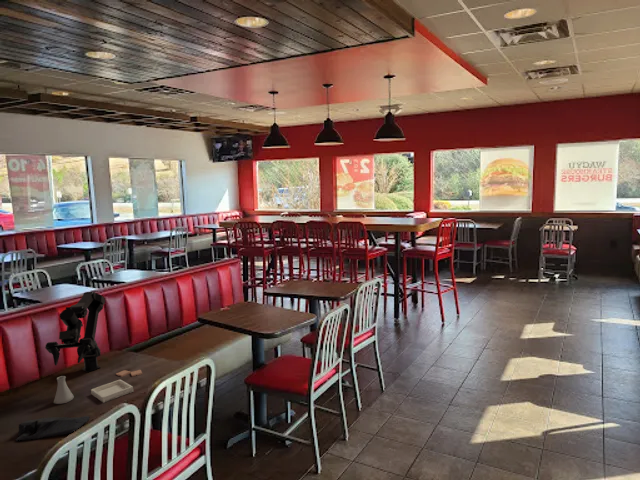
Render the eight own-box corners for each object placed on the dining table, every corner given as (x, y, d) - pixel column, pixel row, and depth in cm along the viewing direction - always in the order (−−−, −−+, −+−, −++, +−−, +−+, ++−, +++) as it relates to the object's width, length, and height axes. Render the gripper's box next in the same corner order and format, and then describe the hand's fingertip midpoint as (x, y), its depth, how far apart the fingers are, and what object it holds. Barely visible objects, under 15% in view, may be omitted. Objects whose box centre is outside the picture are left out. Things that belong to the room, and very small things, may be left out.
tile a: (116, 376, 220) (115, 373, 220) (124, 372, 224) (124, 370, 224) (121, 377, 218) (121, 375, 218) (130, 374, 221) (130, 371, 221)
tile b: (130, 374, 221) (130, 372, 221) (140, 372, 223) (140, 369, 223) (132, 377, 217) (131, 375, 217) (142, 375, 219) (142, 372, 219)
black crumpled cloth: (74, 439, 165) (72, 426, 165) (10, 443, 165) (8, 430, 164) (93, 417, 181) (92, 405, 180) (35, 421, 180) (33, 409, 179)
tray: (91, 394, 200) (90, 389, 200) (120, 384, 209) (120, 379, 209) (103, 402, 192) (102, 397, 191) (133, 391, 201) (133, 386, 200)
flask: (77, 396, 199) (74, 373, 198) (66, 404, 192) (63, 381, 191) (61, 396, 200) (58, 374, 199) (50, 404, 193) (46, 381, 192)
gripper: (44, 324, 204) (35, 358, 194) (89, 320, 206) (83, 353, 197) (53, 336, 213) (46, 369, 203) (97, 332, 215) (92, 364, 206)
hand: (66, 364), depth 202 cm, fingers open, 9 cm apart
